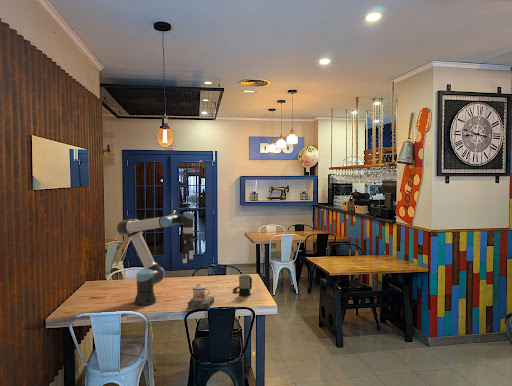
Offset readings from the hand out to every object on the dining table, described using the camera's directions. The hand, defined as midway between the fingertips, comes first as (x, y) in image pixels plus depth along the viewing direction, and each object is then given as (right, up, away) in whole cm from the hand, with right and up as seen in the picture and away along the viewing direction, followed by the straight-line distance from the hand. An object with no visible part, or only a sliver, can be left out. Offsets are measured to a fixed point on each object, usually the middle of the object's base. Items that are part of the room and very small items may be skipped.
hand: (187, 261), depth 278 cm
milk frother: (+39, -29, +16) cm, 51 cm away
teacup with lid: (+11, -26, -10) cm, 30 cm away
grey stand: (+12, -30, -11) cm, 34 cm away
